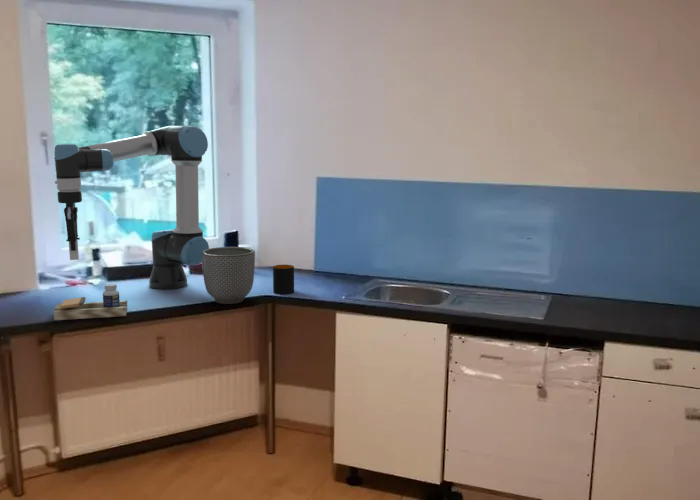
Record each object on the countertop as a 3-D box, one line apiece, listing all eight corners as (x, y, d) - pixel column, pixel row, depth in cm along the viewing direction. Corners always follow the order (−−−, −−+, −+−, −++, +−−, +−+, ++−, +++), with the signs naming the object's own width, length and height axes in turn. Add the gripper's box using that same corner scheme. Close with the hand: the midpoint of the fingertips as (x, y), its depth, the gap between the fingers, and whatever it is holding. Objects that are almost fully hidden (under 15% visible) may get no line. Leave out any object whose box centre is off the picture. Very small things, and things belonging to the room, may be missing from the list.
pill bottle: (114, 314, 238) (113, 286, 236) (100, 313, 239) (99, 286, 237) (123, 310, 243) (121, 283, 241) (109, 309, 244) (107, 282, 242)
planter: (229, 292, 273) (228, 244, 269) (266, 299, 262) (266, 250, 258) (191, 302, 257) (189, 251, 253) (229, 310, 246) (228, 257, 242)
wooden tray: (127, 308, 247) (126, 299, 246) (126, 315, 237) (125, 306, 237) (58, 312, 241) (57, 302, 240) (54, 320, 232) (53, 310, 231)
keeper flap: (85, 299, 242) (85, 296, 242) (82, 305, 234) (82, 302, 234) (64, 302, 240) (64, 300, 240) (61, 308, 232) (60, 306, 232)
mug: (289, 287, 282) (289, 262, 280) (296, 293, 271) (296, 268, 269) (269, 288, 279) (268, 263, 278) (275, 295, 268) (275, 269, 266)
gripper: (59, 189, 237) (65, 256, 241) (54, 192, 225) (60, 263, 229) (83, 188, 239) (87, 255, 243) (79, 192, 227) (84, 262, 231)
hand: (74, 259), depth 236 cm, fingers closed
